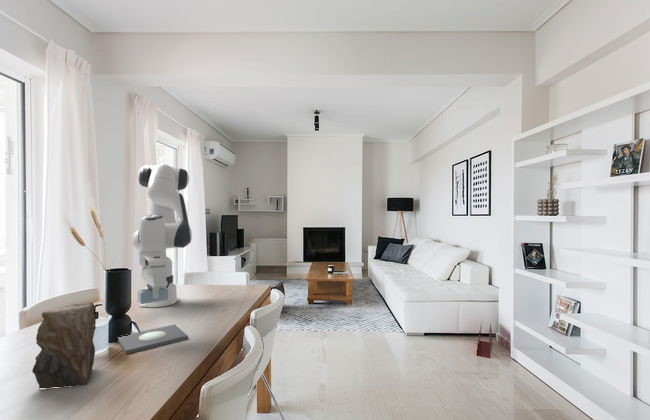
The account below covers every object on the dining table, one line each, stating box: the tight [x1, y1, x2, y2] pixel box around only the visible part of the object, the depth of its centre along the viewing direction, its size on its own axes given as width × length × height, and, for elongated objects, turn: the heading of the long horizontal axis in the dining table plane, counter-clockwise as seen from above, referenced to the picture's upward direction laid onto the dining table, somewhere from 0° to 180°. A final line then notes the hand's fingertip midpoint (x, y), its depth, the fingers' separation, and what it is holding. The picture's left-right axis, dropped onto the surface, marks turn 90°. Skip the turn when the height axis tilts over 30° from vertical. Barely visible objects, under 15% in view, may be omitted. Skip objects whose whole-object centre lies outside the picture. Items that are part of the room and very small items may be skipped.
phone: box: [137, 287, 168, 305], centre depth 121 cm, size 5×9×4 cm, turn 131°
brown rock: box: [31, 302, 97, 389], centre depth 94 cm, size 13×13×20 cm
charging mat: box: [117, 324, 189, 355], centre depth 121 cm, size 16×20×1 cm
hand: (152, 296), depth 121 cm, fingers closed on phone, 5 cm apart
